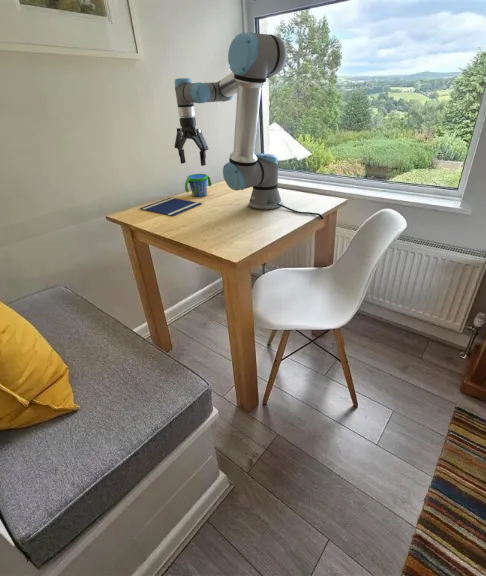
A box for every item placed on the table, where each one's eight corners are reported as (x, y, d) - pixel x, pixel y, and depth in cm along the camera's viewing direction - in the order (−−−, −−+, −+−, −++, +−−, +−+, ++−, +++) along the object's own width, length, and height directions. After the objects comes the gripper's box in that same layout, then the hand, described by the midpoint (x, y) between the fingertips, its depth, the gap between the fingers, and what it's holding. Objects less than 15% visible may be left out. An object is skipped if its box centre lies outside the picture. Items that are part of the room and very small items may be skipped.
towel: (201, 204, 160) (201, 203, 160) (172, 216, 146) (172, 215, 145) (170, 198, 170) (169, 197, 170) (140, 209, 156) (139, 208, 156)
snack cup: (191, 200, 165) (189, 180, 160) (182, 196, 172) (179, 176, 167) (217, 194, 173) (215, 174, 168) (206, 190, 180) (204, 171, 175)
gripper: (212, 116, 149) (217, 164, 161) (173, 116, 161) (180, 160, 172) (202, 118, 144) (207, 167, 155) (162, 117, 156) (170, 163, 167)
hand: (193, 164), depth 164 cm, fingers open, 13 cm apart
